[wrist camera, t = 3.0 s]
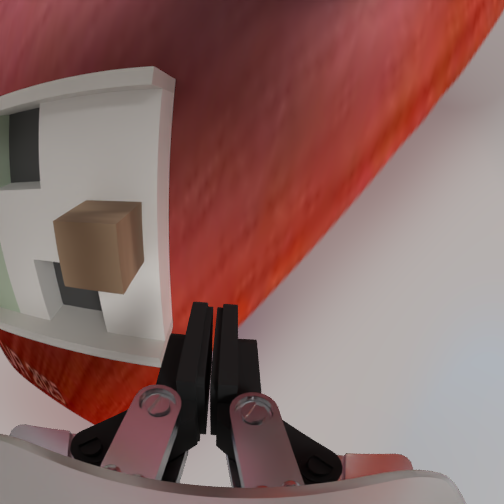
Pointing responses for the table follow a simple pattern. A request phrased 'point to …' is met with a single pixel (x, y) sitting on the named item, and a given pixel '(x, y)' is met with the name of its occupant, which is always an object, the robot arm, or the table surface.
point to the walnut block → (100, 245)
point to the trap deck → (77, 191)
